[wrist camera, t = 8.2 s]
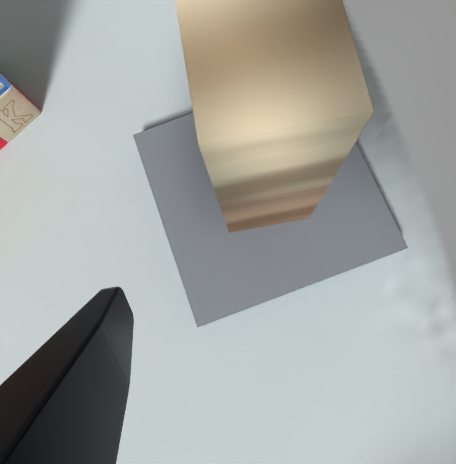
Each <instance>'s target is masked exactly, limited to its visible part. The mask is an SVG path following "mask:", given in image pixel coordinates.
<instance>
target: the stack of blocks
mask: <svg viewBox="0 0 456 464" xmlns="http://www.w3.org/2000/svg"><path fill="white" fill-rule="evenodd" d="M40 113H41V111H40V110H39V109H38V108H37V107H36V106H35V105H34V104H33V103H32V102H31V101H30V100H29V99H28V98H27V97H26V96H25V95H24V94H23V93H22V92H21V91H19V90H18V89H17V88H16V87H15V86H14V85H13V84H12V83H11V82H10V81H9V80H8V79H7V78H6V77H5V76H4V75H3V74H2V73H0V150H1V149H2V148H3V147H4V146H5V145H6V144H7V143H8V142H9V141H11V140H12V139H13V138H14V137H15V136H16V135H18V134H19V133H20V132H21V131H22V130H23V129H24V128H25V127H26V126H28V125H29V124H30V123H31V122H32V121H33V120H34V119H35V118H36V117H38V116H39V115H40Z"/></svg>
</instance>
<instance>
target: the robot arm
mask: <svg viewBox="0 0 456 464" xmlns="http://www.w3.org/2000/svg"><path fill="white" fill-rule="evenodd" d="M133 325H134V319H133V313H132V310H131V308H130V306H129V303H128V301H127V299H126V296H125V294H124V292H123V290H122V289H121V288H120V287H111V288H106V289H102V290H101V291H99V292H98V293H97V294H96V295H95V296H94V297H93V298H92V299H91V300H90V301H89V302H88V303H87V304H86V305H85V306H83V307H82V308H81V309H80V310H79V311H78V312H77V313H76V314H75V315H74V316H73V317H72V318H71V319H70V320H69V321H68V322H67V323H66V324H65V325H63V326H62V327H61V328H60V329H59V330H58V331H57V332H56V333H55V334H54V335H53V336H52V337H51V338H50V339H49V340H48V341H47V342H46V343H44V344H43V345H42V346H41V347H40V348H39V349H38V350H37V351H36V352H35V353H34V354H33V355H32V356H31V357H30V358H29V359H28V360H27V361H25V362H24V363H23V364H22V365H21V366H20V367H19V368H18V369H17V370H16V371H15V372H14V373H13V374H12V375H11V376H10V377H9V378H8V379H6V380H5V381H4V382H3V383H2V384H1V385H0V464H116V460H117V454H118V449H119V443H120V437H121V432H122V426H123V420H124V415H125V409H126V403H127V398H128V392H129V385H130V374H131V358H132V341H133Z"/></svg>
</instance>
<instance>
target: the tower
mask: <svg viewBox="0 0 456 464" xmlns="http://www.w3.org/2000/svg"><path fill="white" fill-rule="evenodd" d="M175 3H176V10H177V16H178V22H179V28H180V34H181V40H182V47H183V53H184V59H185V65H186V71H187V77H188V84H189V90H190V96H191V102H192V108H193V114H194V121H195V127H196V133H197V139H198V145H199V148H200V151H201V154H202V157H203V159H204V162H205V165H206V168H207V171H208V174H209V177H210V179H211V182H212V185H213V188H214V191H215V194H216V197H217V199H218V202H219V205H220V208H221V211H222V214H223V217H224V219H225V222H226V225H227V228H228V231H229V233H231V232H237V231H242V230H248V229H253V228H259V227H264V226H270V225H275V224H281V223H286V222H292V221H298V220H303V219H309V218H310V216H311V214H312V213H313V211H314V209H315V208H316V206H317V205H318V203H319V201H320V200H321V198H322V196H323V195H324V193H325V191H326V190H327V188H328V186H329V185H330V183H331V181H332V180H333V178H334V177H335V175H336V173H337V172H338V170H339V168H340V167H341V165H342V163H343V162H344V160H345V158H346V157H347V155H348V154H349V152H350V150H351V149H352V147H353V145H354V144H355V142H356V140H357V139H358V137H359V135H360V134H361V132H362V131H363V129H364V127H365V126H366V124H367V122H368V121H369V119H370V117H371V116H372V114H373V112H374V110H373V107H372V103H371V100H370V96H369V93H368V89H367V86H366V82H365V79H364V75H363V72H362V68H361V65H360V61H359V58H358V54H357V51H356V47H355V44H354V40H353V37H352V33H351V30H350V26H349V23H348V19H347V16H346V12H345V9H344V5H343V2H342V0H177V1H175Z"/></svg>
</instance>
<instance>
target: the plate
mask: <svg viewBox="0 0 456 464" xmlns="http://www.w3.org/2000/svg"><path fill="white" fill-rule="evenodd" d="M133 136H134V139H135V142H136V145H137V148H138V151H139V154H140V157H141V160H142V163H143V166H144V169H145V172H146V175H147V178H148V181H149V184H150V187H151V190H152V193H153V196H154V199H155V202H156V205H157V208H158V211H159V214H160V217H161V220H162V223H163V226H164V229H165V232H166V235H167V238H168V241H169V244H170V247H171V250H172V253H173V256H174V258H175V261H176V264H177V267H178V270H179V273H180V276H181V279H182V282H183V285H184V288H185V291H186V294H187V297H188V300H189V303H190V306H191V309H192V312H193V315H194V318H195V321H196V324H197V327H199V326H202V325H205V324H207V323H210V322H213V321H215V320H218V319H221V318H223V317H226V316H229V315H231V314H234V313H237V312H239V311H242V310H244V309H247V308H250V307H252V306H255V305H258V304H260V303H263V302H266V301H268V300H271V299H274V298H276V297H279V296H282V295H284V294H287V293H290V292H292V291H295V290H297V289H300V288H303V287H305V286H308V285H311V284H313V283H316V282H319V281H321V280H324V279H327V278H329V277H332V276H335V275H337V274H340V273H343V272H345V271H348V270H350V269H353V268H356V267H358V266H361V265H364V264H366V263H369V262H372V261H374V260H377V259H380V258H382V257H385V256H388V255H390V254H393V253H396V252H398V251H401V250H403V249H406V248H408V247H407V245H406V243H405V241H404V239H403V237H402V235H401V233H400V231H399V229H398V226H397V224H396V222H395V220H394V218H393V216H392V214H391V212H390V210H389V208H388V206H387V204H386V202H385V200H384V198H383V196H382V194H381V192H380V190H379V188H378V186H377V184H376V182H375V180H374V178H373V176H372V174H371V172H370V170H369V168H368V166H367V164H366V162H365V160H364V158H363V156H362V154H361V152H360V150H359V148H358V146H357V144H356V142H355V144H354V145H353V147H352V149H351V150H350V152H349V154H348V155H347V157H346V158H345V160H344V162H343V163H342V165H341V167H340V168H339V170H338V172H337V173H336V175H335V177H334V178H333V180H332V181H331V183H330V185H329V186H328V188H327V190H326V191H325V193H324V195H323V196H322V198H321V200H320V201H319V203H318V205H317V206H316V208H315V209H314V211H313V213H312V214H311V216H310V218H309V219H303V220H298V221H292V222H286V223H281V224H275V225H270V226H264V227H259V228H253V229H248V230H242V231H237V232H231V233H229V231H228V228H227V225H226V222H225V219H224V217H223V214H222V211H221V208H220V205H219V202H218V199H217V197H216V194H215V191H214V188H213V185H212V182H211V179H210V177H209V174H208V171H207V168H206V165H205V162H204V159H203V157H202V154H201V151H200V148H199V145H198V139H197V133H196V127H195V121H194V114H193V113H191V114H188V115H185V116H183V117H180V118H177V119H175V120H172V121H169V122H167V123H164V124H161V125H159V126H156V127H153V128H151V129H148V130H145V131H143V132H140V133H137V134H135V135H133Z"/></svg>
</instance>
